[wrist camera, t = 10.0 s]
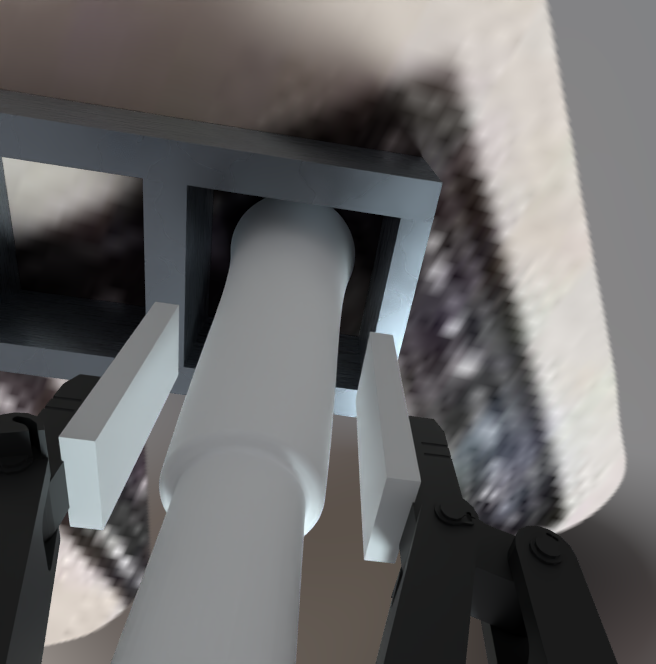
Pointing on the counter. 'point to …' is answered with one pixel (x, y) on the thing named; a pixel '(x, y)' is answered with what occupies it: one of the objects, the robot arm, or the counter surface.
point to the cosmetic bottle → (249, 451)
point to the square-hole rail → (199, 228)
